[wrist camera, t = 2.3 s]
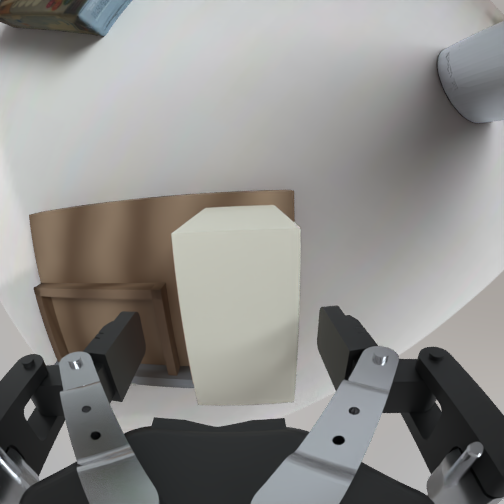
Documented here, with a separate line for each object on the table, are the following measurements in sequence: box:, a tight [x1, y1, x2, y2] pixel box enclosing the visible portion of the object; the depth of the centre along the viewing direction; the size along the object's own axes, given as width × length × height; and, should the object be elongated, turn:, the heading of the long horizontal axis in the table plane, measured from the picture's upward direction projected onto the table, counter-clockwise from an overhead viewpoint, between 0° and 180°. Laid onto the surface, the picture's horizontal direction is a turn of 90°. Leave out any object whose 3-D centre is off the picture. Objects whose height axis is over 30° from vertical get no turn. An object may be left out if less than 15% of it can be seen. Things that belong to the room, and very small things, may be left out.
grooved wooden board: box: [29, 190, 294, 388], centre depth 22 cm, size 24×16×4 cm
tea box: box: [171, 205, 301, 405], centre depth 17 cm, size 5×9×10 cm, turn 2°
